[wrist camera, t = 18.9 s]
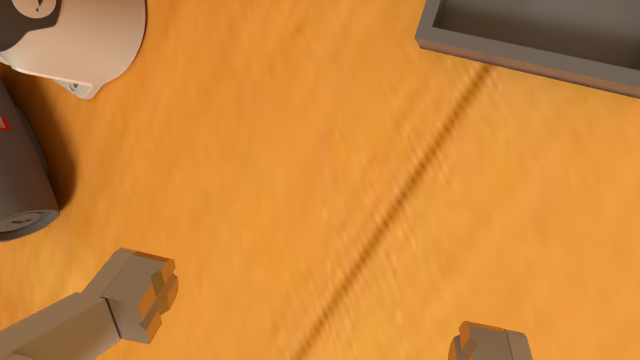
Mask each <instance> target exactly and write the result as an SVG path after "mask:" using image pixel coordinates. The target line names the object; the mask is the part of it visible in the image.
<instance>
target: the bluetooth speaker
mask: <svg viewBox="0 0 640 360" xmlns="http://www.w3.org/2000/svg"><path fill="white" fill-rule="evenodd" d="M48 174H49V169H48V165H47V162H46V159H45V157H44V154H43V152H42V150H41V147H40V145H39V143H38V141H37V139H36V137H35V135H34V133H33V130H32V128H31V126H30V124H29V122H28V121H27V119H26V117H25V115H24V114H23V113H22V111H21V110H20V109H19V108H17V107H16V106H15V105H14V103H13V101H12V99H11V97H10V95H9V93H8V91H7V90H6V88H5V87H4V85H3V83H2V81H1V79H0V242H6V241H10V240H14V239H18V238H21V237H24V236H27V235H29V234H32V233H34V232H37V231H39V230H41V229H43V228H45V227H46V226H48V225H49V224H50V223H51V222H52V221H54V220H55V219H56V218H57V217H58V216H59V215H60V212H59V208H58V205H57V201H56V198H55V195H54V193H53V190H52V188H51V185H50V183H49V179H48V176H47V175H48Z"/></svg>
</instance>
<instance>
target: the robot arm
mask: <svg viewBox="0 0 640 360" xmlns="http://www.w3.org/2000/svg"><path fill="white" fill-rule="evenodd" d="M144 28H145V2H144V0H0V62H2V63H4V64H7V65H10V66H11V68H12V69H14V70H17V71H19V72H22V73H26V74H31V75H36V76H41V77H46V78H51V79H53V80H54V81H56V82H57V83H58V84H60V85H61V86H63V87H64V88H65V89H67V90H68V91H70V92H71V93H73V94H74V95H75V96H77V97H79V98H82V99H86V100H90V99H91V98H93V97H94V96H95V95H96V93H97V92H98V91H99V89H100V88H101V87H102V86H103V85H104V84H105V83H107V82H109V81H111V80H113V79H115V78H117V77H118V76H120V75H121V74H122V73H123V72H124V71H125V70H126V69H127V68H128V67H129V66H130V64H131V63H132V61H133V60H134V58H135V56H136V54H137V52H138V50H139V48H140V45H141V42H142V38H143V34H144ZM175 268H176V267H175V263H174V260H173V259H169V258H165V257H161V256H156V255H152V254H148V253H144V252H140V251H135V250H131V249H126V248H120V249H119V250H117V251H116V252H115V253H114V254H113V255H112V256H111V257H110V259H109V260H108V261H107V262H106V264H105V265H104V266H103V267H102V268H101V270H100V271H99V272H98V273H97V275H96V276H95V277H94V278H93V279H92V281H91V282H90V283H89V284H88V286H87V287H86V288H85V289H84V290H83V292H82V293H78V292H76V293H74V294H72V295H70V296H68V297H66V298H64V299H62V300H60V301H58V302H56V303H54V304H52V305H50V306H48V307H46V308H45V309H43V310H41V311H39V312H37V313H35V314H33V315H31V316H29V317H27V318H25V319H23V320H21V321H19V322H17V323H15V324H13V325H11V326H10V327H8V328H6V329H4V330H2V331H0V360H95V359H96V358H97V357H99V356H100V355H101V354H103V353H104V352H105V351H107V350H108V349H110V348H111V347H112V346H114V345H115V344H116V343H118V342H119V341H120V338H121V339H126V340H131V341H136V342H141V343H146V344H150V343H151V341H152V340H153V338H154V336H155V334H156V333H157V331H158V329H159V327H160V326H161V324H162V321H161V315H162V314H163V313H165V312H167V311H168V310H170V308H171V306H172V304H173V303H174V301H175V298H176V295H177V292H178V278H177V276H176V275H175V274H174V273H173V271H174V269H175ZM459 332H460V335H458V336H456V337H454V338H453V340H452V342H451V344H450V349H449V354H448V360H533V358H532V355H531V351H530V347H529V344H528V340H527V337H526V336H525V334H524V333H521V332H516V331H511V330H506V329H502V328H499V327H494V326H489V325H484V324H479V323H474V322H469V321H464V322H462V324H461V325H460V327H459Z"/></svg>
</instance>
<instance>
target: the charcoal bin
mask: <svg viewBox="0 0 640 360" xmlns="http://www.w3.org/2000/svg"><path fill="white" fill-rule="evenodd" d="M415 39H416V41H417V43H418V44H419V46H420V48H422V49H426V50H430V51H435V52H439V53H443V54H448V55H452V56H456V57H461V58H465V59H469V60H474V61H478V62H482V63H487V64H491V65H495V66H500V67H504V68H508V69H513V70H517V71H521V72H526V73H530V74H534V75H539V76H543V77H547V78H552V79H556V80H560V81H565V82H569V83H573V84H578V85H582V86H586V87H591V88H595V89H599V90H604V91H608V92H612V93H617V94H621V95H625V96H630V97H634V98H638V99H640V0H529V1H527V0H427V1H426V4H425V7H424V10H423V13H422V16H421V19H420V22H419V25H418V28H417V32H416V35H415Z"/></svg>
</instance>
